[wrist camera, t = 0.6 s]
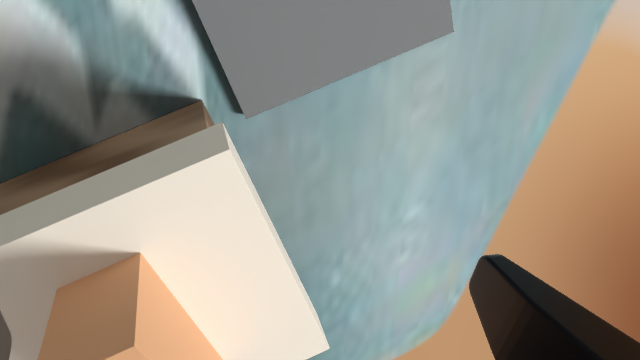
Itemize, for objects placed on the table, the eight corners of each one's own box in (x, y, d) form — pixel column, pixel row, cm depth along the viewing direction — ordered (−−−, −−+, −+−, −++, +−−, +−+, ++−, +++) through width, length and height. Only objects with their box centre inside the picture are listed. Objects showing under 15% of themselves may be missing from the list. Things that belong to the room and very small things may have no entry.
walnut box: (115, 319, 26) (104, 417, 21) (-9, 186, 20) (-64, 279, 15) (276, 247, 26) (302, 326, 22) (201, 99, 21) (213, 161, 16)
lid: (100, 412, 22) (81, 564, 17) (-93, 254, 15) (-218, 425, 10) (316, 313, 23) (360, 429, 18) (222, 121, 16) (248, 220, 11)
